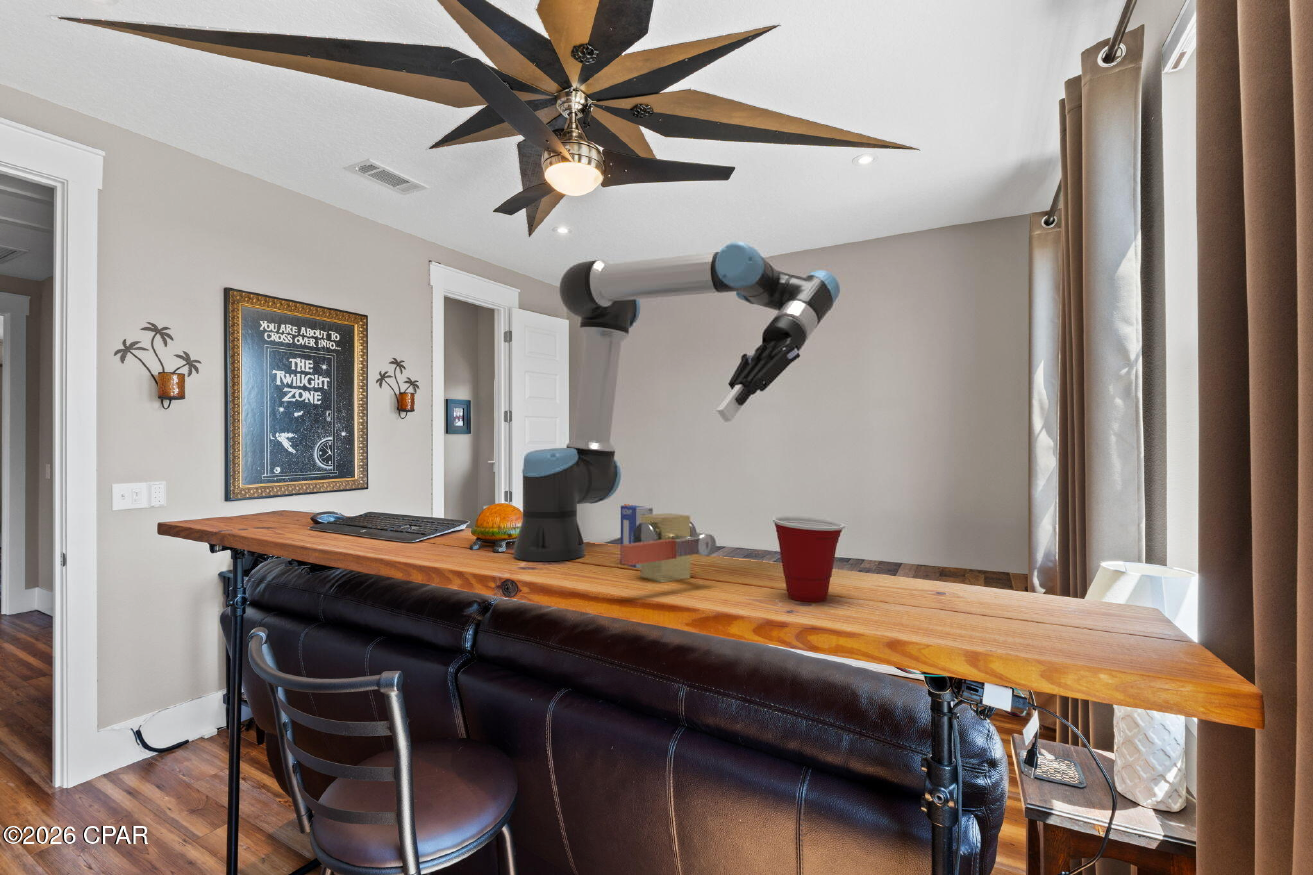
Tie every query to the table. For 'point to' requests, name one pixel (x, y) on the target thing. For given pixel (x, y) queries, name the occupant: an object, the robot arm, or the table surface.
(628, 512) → the walkman
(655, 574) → the valve pipe
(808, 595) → the plastic cup
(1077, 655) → the table surface
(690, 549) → the valve lever
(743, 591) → the table surface
